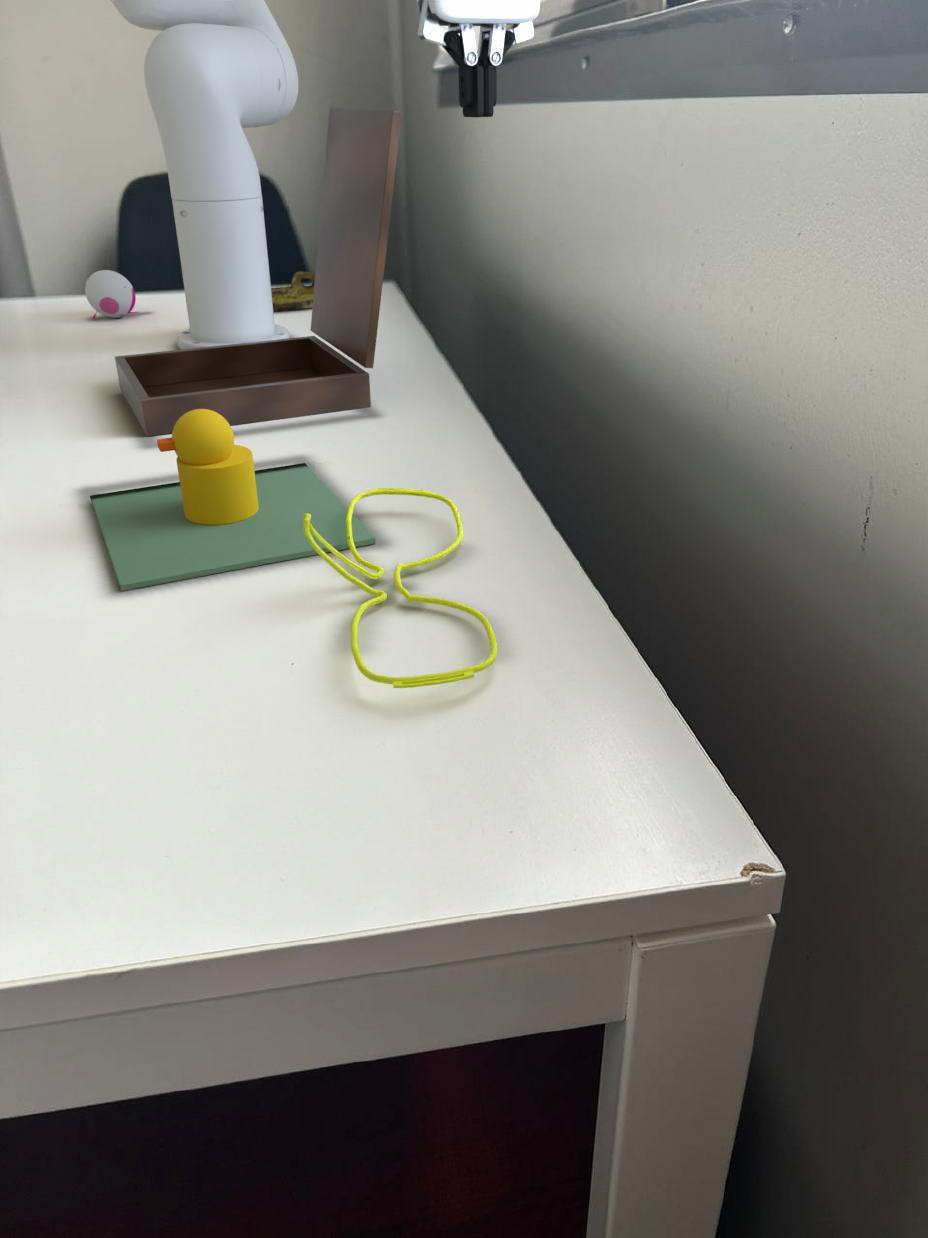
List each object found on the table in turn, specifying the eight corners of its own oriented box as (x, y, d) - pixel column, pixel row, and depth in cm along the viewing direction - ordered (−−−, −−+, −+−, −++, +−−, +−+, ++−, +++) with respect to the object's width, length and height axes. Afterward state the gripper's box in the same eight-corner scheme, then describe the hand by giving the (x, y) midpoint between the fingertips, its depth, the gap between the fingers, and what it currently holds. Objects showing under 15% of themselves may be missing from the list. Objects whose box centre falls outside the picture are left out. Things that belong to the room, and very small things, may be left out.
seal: (216, 322, 129) (331, 316, 131) (211, 285, 126) (329, 280, 128) (219, 300, 136) (328, 294, 138) (214, 265, 134) (325, 260, 136)
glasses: (509, 700, 48) (513, 614, 45) (304, 712, 47) (296, 625, 44) (452, 501, 69) (453, 435, 67) (311, 506, 68) (306, 440, 66)
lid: (392, 109, 78) (402, 111, 79) (329, 106, 92) (337, 108, 92) (364, 367, 87) (373, 368, 87) (310, 330, 100) (317, 331, 100)
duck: (249, 493, 71) (237, 394, 68) (266, 517, 67) (255, 414, 64) (164, 506, 69) (147, 405, 65) (177, 532, 65) (160, 426, 61)
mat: (87, 491, 73) (86, 486, 73) (298, 459, 78) (297, 454, 78) (121, 591, 58) (119, 585, 58) (375, 543, 64) (375, 537, 64)
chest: (148, 446, 82) (141, 401, 80) (121, 395, 95) (114, 356, 93) (371, 415, 89) (369, 373, 87) (317, 372, 102) (314, 335, 100)
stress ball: (140, 345, 127) (163, 299, 126) (81, 315, 122) (104, 266, 121) (125, 332, 133) (147, 287, 132) (68, 303, 128) (90, 256, 126)
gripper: (407, -152, 75) (417, 119, 83) (578, -139, 80) (570, 114, 89) (373, -133, 81) (385, 118, 90) (534, -122, 86) (531, 113, 95)
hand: (478, 116), depth 89 cm, fingers closed
